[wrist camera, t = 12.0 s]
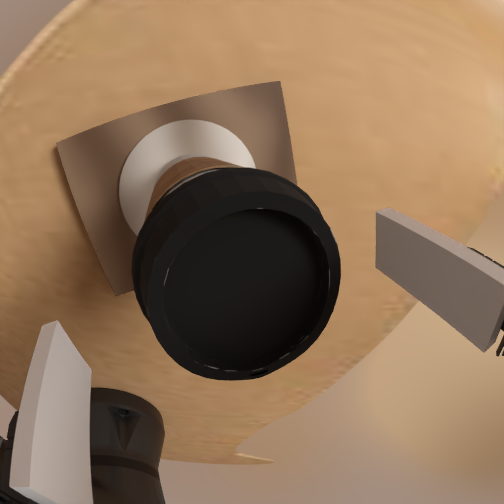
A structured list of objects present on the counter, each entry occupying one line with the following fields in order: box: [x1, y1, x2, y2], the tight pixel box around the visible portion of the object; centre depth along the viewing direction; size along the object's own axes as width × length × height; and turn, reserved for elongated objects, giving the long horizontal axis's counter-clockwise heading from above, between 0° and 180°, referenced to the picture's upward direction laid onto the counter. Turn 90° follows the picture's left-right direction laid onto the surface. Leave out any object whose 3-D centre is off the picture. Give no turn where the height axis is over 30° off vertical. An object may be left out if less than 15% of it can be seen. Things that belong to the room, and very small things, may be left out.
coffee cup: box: [131, 154, 341, 380], centre depth 17 cm, size 8×8×15 cm
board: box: [56, 81, 297, 296], centre depth 24 cm, size 18×14×2 cm
